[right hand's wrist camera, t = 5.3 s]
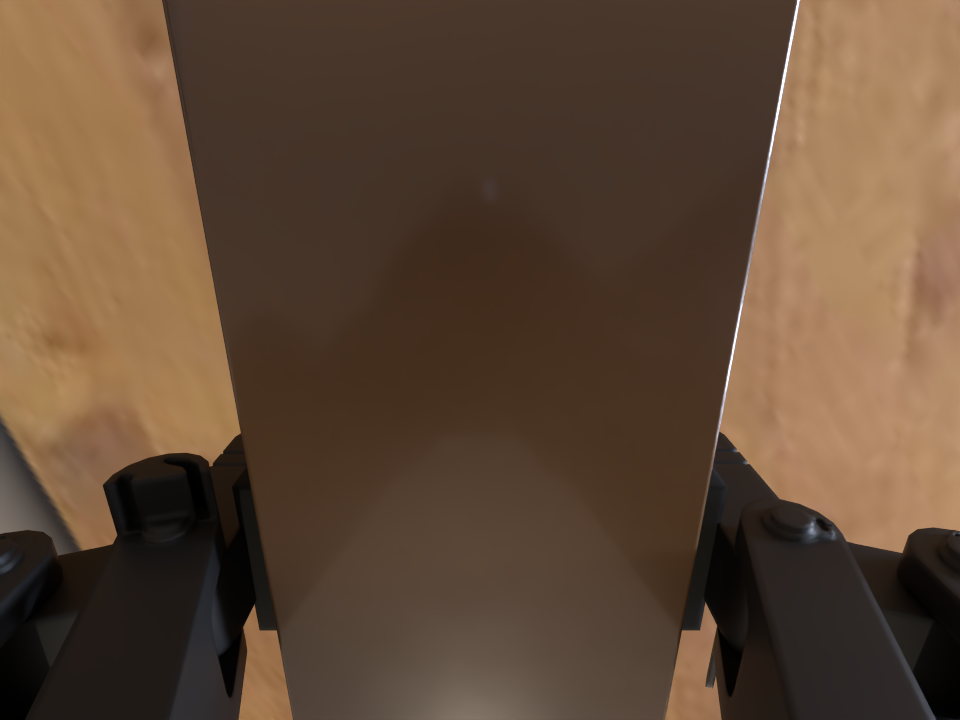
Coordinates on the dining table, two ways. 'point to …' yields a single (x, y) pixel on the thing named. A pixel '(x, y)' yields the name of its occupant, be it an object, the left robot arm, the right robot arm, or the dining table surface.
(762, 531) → the right robot arm
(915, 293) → the dining table surface
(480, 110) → the board
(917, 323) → the dining table surface
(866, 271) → the dining table surface
